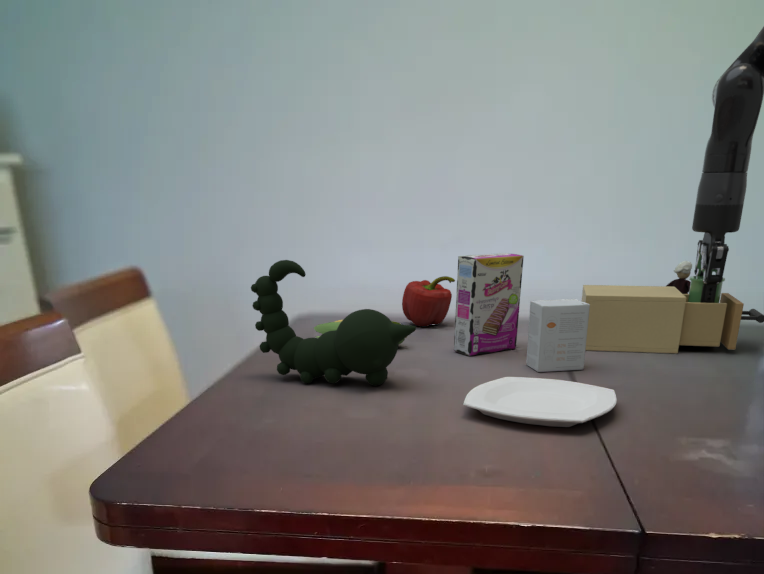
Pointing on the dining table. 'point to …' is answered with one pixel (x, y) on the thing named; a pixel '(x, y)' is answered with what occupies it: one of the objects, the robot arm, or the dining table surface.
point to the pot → (697, 289)
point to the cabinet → (634, 318)
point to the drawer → (715, 322)
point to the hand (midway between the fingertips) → (703, 303)
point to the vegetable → (426, 301)
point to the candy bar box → (487, 303)
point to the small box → (557, 335)
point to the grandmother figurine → (682, 277)
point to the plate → (541, 401)
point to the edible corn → (335, 327)
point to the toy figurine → (326, 337)
